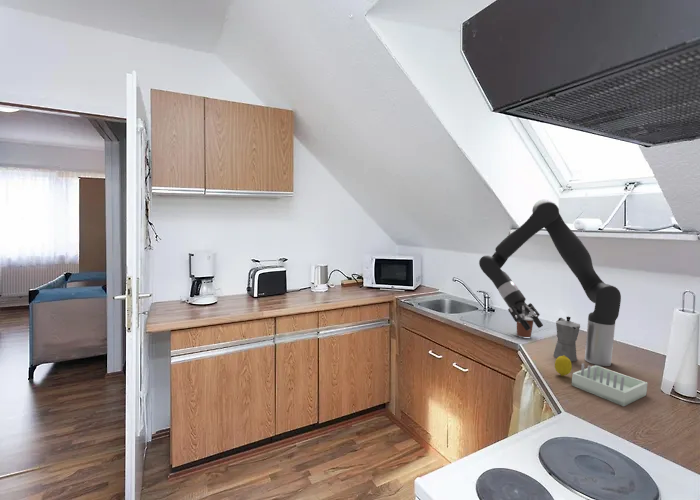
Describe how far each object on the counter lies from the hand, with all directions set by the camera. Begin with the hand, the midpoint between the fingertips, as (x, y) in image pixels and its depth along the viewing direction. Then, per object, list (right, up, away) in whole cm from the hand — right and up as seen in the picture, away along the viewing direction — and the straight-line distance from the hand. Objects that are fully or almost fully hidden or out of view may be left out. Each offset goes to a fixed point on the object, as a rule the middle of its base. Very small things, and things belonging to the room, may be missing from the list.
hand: (535, 328), depth 143 cm
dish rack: (+15, -17, -19) cm, 30 cm away
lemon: (+6, -16, -8) cm, 19 cm away
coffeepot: (+19, -15, +12) cm, 27 cm away
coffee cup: (+14, -13, +38) cm, 42 cm away
